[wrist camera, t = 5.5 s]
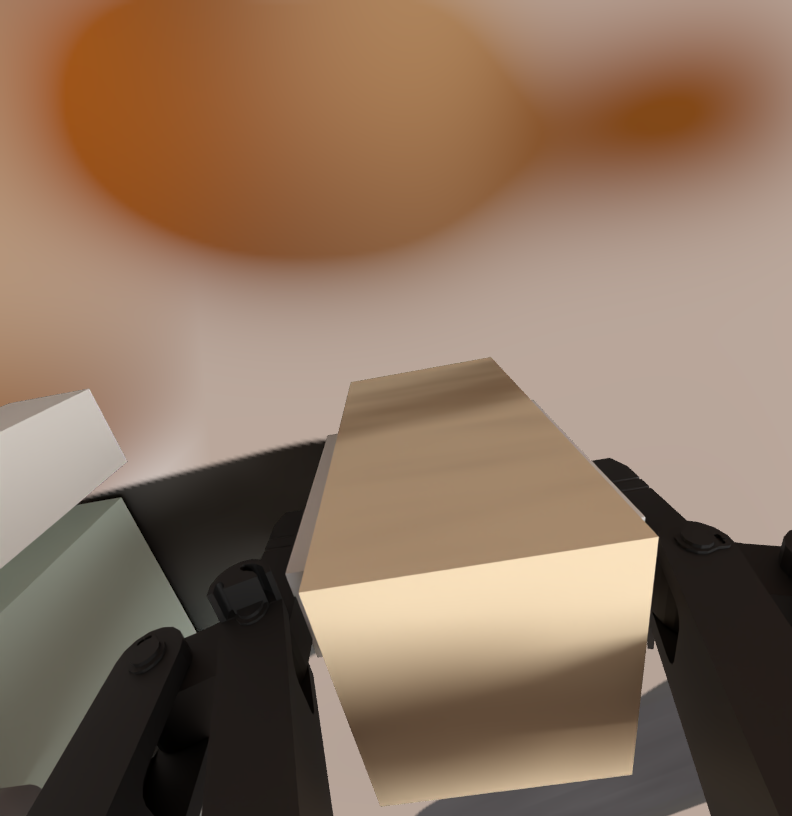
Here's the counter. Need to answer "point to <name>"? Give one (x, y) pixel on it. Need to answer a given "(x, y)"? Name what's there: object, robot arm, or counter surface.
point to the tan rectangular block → (476, 591)
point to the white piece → (50, 463)
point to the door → (70, 634)
